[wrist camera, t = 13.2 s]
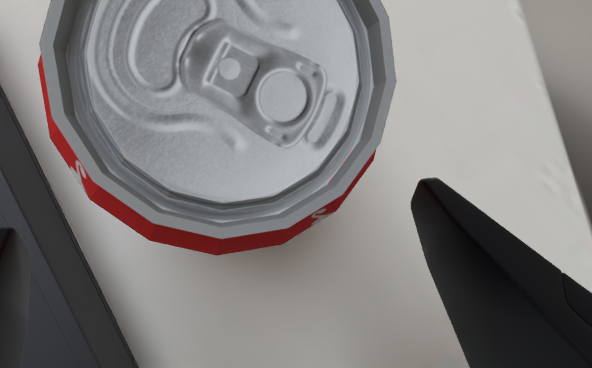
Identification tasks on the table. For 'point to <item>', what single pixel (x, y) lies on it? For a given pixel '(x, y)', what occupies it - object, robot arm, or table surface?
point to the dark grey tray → (53, 268)
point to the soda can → (217, 111)
